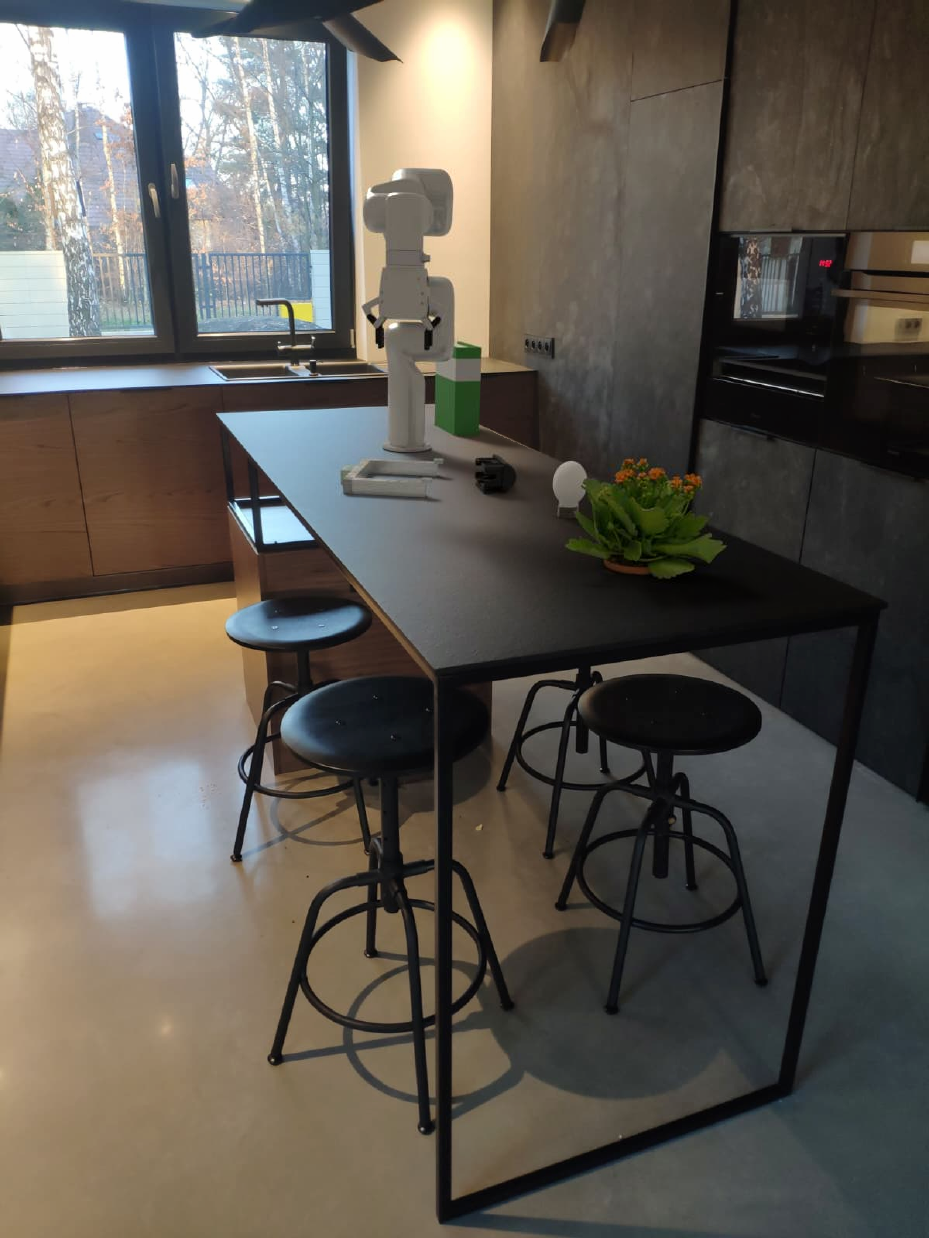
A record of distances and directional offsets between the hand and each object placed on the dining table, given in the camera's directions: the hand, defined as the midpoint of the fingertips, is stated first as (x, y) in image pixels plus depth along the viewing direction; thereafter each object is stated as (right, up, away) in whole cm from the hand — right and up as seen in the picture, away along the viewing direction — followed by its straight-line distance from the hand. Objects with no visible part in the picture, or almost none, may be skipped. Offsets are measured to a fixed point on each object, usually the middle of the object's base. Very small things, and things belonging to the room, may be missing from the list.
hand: (404, 349), depth 194 cm
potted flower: (+40, -47, -35) cm, 71 cm away
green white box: (+10, -1, +80) cm, 80 cm away
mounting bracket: (-4, -26, +15) cm, 30 cm away
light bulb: (+33, -35, -7) cm, 49 cm away
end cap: (+19, -27, +13) cm, 36 cm away
